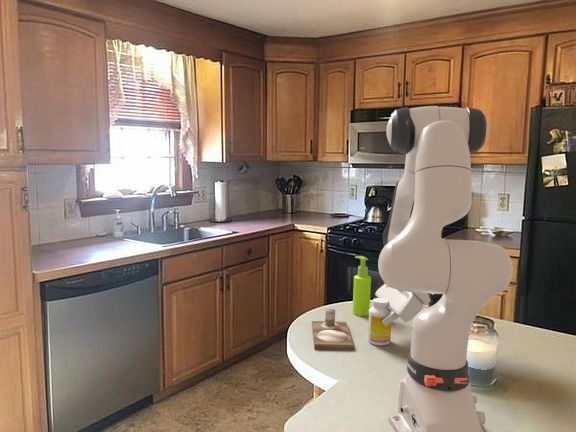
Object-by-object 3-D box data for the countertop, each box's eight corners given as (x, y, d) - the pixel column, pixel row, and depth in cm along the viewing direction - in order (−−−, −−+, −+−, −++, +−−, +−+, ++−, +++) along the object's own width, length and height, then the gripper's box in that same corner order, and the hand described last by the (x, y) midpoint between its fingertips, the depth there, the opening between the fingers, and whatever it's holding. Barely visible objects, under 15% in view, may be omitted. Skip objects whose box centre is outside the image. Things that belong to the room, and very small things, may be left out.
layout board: (353, 349, 133) (353, 328, 132) (314, 349, 133) (315, 327, 132) (345, 326, 151) (346, 306, 150) (311, 325, 151) (312, 306, 150)
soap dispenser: (361, 308, 168) (364, 254, 165) (372, 314, 162) (375, 258, 159) (347, 310, 165) (349, 255, 163) (358, 317, 159) (360, 259, 156)
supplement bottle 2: (432, 313, 164) (434, 280, 162) (451, 317, 160) (453, 284, 158) (424, 318, 159) (426, 284, 157) (443, 323, 155) (446, 288, 153)
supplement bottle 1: (393, 345, 136) (395, 303, 134) (371, 347, 135) (373, 304, 133) (385, 336, 143) (387, 296, 141) (364, 337, 142) (366, 297, 140)
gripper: (390, 269, 147) (360, 300, 147) (419, 288, 127) (383, 324, 127) (403, 282, 149) (372, 313, 148) (433, 303, 129) (398, 339, 129)
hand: (377, 318), depth 138 cm, fingers closed on supplement bottle 1, 7 cm apart
